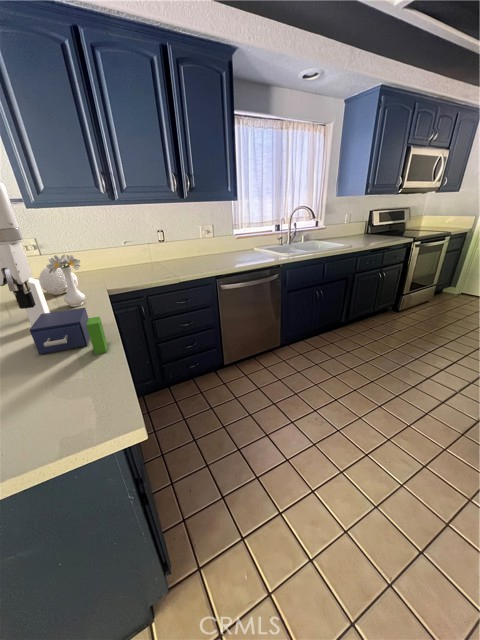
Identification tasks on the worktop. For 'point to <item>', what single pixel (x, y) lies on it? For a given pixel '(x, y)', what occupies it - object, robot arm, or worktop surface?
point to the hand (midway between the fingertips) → (28, 307)
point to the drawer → (58, 338)
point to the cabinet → (63, 322)
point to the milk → (36, 301)
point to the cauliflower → (55, 281)
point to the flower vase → (68, 278)
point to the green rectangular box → (97, 335)
